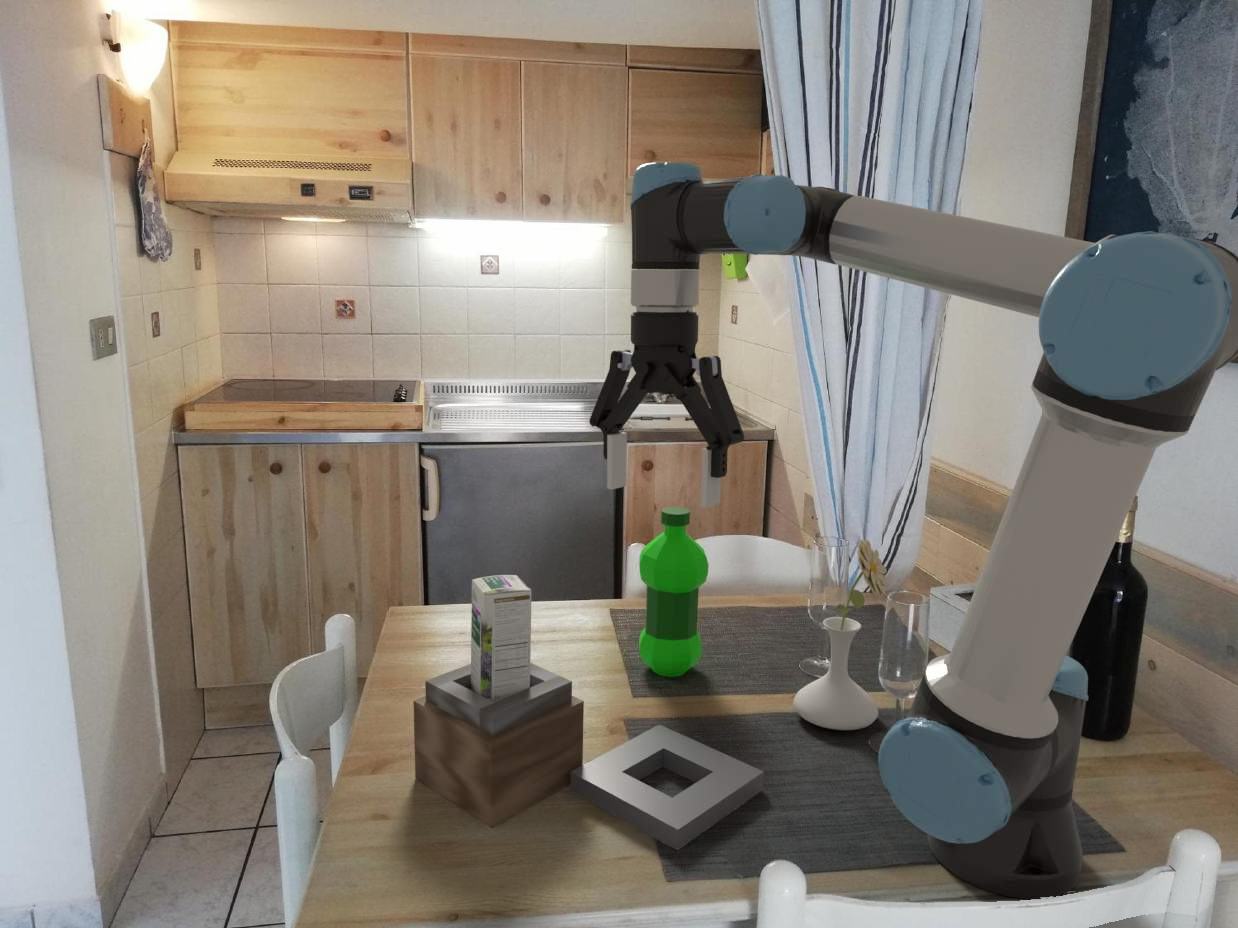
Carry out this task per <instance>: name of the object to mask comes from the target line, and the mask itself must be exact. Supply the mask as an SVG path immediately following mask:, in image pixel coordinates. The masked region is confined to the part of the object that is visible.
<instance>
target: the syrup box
mask: <svg viewBox="0 0 1238 928" xmlns="http://www.w3.org/2000/svg"><path fill="white" fill-rule="evenodd" d="M470 626H471V629H470V632H471V634H470V640H471V641H470V664H471V691H473V692H475V693H477V694H479V695H481V696H483V697H485V698H487V699H489V700H491V701H493V702H497V701H500V700H502V699H505V698H507V697H509V696H512V695H514V694H516V693H519V692H521V691H523V690H526V689H528V688H530V663H531V653H532V652H531V650H532V649H531V643H532V642H531V640H532V639H531V638H532V636H531V634H532V589H531V588H530V587H528V586H527V584H526V583H525V582H524V581H523V580H522V579H521V578H520V577H519V576H518V575H516V574H499V575H498V574H497V575H490V576H489V575H488V576H482V577H478V578H477V577H476V578H473V579H471V625H470Z"/></svg>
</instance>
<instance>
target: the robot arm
mask: <svg viewBox="0 0 1238 928" xmlns="http://www.w3.org/2000/svg"><path fill="white" fill-rule="evenodd" d="M632 177H633V179H632V191H631V202H630V203H629V205H630V206H629V207H630V211H631V212H630V213H631V214H630V216H631V217H630V218H631V270H630V274H631V275H630V305H631V306H632V307H635V309H636V311H633V312H632V314H630V342H631V344H632V345H633V352H632V351H631V350H630V349H620V350H619V349H618V350H613V351H612V352H611V353H610V359H609V360H610V361H609V369H608V372H607V374H606V377H605V379H604V383H603V385H602V386H601V390H600V393H599V395H598V397H597V400H596V402H595V405H594V407H593V409H592V413H591V414H590V418H589V419H588V421H589V425H590V426H591V427H593V428H594V427H596V428H598V429H600V431H601V433H602V434H603V451H602V453H603V458H604V460H606V461H607V463H606V465H607V466H606V467H607V468H606V469H607V470H606V471H607V472H606V475H607V477H606V478H607V479H606V481H607V482H606V484H607V485H606V489H608V490H610V491H611V490H615V489H620V488H624V487H627V474H628V473H627V471H628V469H627V468H628V467H627V466H628V465H627V464H628V463H627V461H628V453H627V452H628V444H627V443H628V441H627V439H628V432H625V431H624V430H625V428H624V426H625V424H626V423H627V422H628V421H629V419H630V418H631V416H632V415H633V413H634V412H635V411H636V410H637V408H638V407H639V405H640V404H641V403H642V401H643V400H644V399H645V397H646V396H647V395H648V394H655V393H660V394H662V395H665V396H667V395H668V396H670V395H674V397H675V398H676V399H677V400H679V401H680V402H681V403H682V405H683V407H684V408H685V410H686V411H687V413H688V414H689V416H690V418H691V419H692V421H693V423H694V425H695V426H696V427H697V429H698V430H699V432H700V434H701V435H702V437H703V439H704V440H705V442H706V444H707V446H706V447H704V448H702V449H701V487H700V488H701V489H700V493H701V495H700V507H701V508H705V509H707V508H710V507H714V506H717V505H720V504H721V496H722V495H721V493H722V492H721V491H722V477H726V475H727V473H728V451H729V450H728V449H729V448H730V446H733V445H735V444H739V443H742V442H744V440H745V434H744V431H743V429H742V427H741V423H740V420H739V419H738V416H737V415H738V414H737V412H736V410H735V407H734V405H733V402H732V400H731V397H730V394H729V392H728V389H727V386H726V384H725V381H724V378H723V375H722V360H721V357H720V356H718V355H709V356H701V357H700V358H698V356H697V354H696V346H697V344H698V341H699V314H698V313H697V312H696V311H693V309H694V307H695V308H696V307H698V305H699V298H700V295H699V294H700V289H699V288H700V263H701V262H700V261H701V255H707V254H708V255H709V254H710V255H712V254H713V255H714V254H716V255H718V254H719V255H725V254H726V255H754V256H756V255H759V256H760V255H771V256H775V255H776V256H793V257H795V256H796V257H802V258H808V259H811V260H817V261H820V262H824V263H826V264H832V265H836V266H837V265H838V266H842V267H846V268H850V269H853V270H857V271H860V272H865V273H868V274H873V275H876V276H879V277H884V278H888V279H891V280H895V281H898V282H902V283H906V284H910V285H914V286H918V287H922V288H926V289H929V290H933V291H937V292H940V293H944V294H947V295H948V294H949V295H953V296H956V297H960V298H963V299H967V300H971V301H973V302H979V303H983V304H987V305H991V306H994V307H998V308H1002V309H1006V310H1010V311H1012V312H1016V313H1021V314H1024V315H1028V316H1032V317H1036V318H1038V336H1039V341H1040V345H1041V348H1042V351H1043V353H1042V356H1041V358H1040V361H1039V364H1038V366H1037V370H1036V373H1035V375H1034V377H1033V379H1032V380H1033V381H1032V383H1031V385H1030V386H1031V387H1030V388H1031V392H1033V394H1034V396H1035V398H1036V400H1037V402H1038V404H1039V405H1040V407H1041V412H1042V413H1041V415H1040V419H1039V421H1038V424H1037V427H1036V430H1035V432H1034V434H1033V437H1032V440H1031V442H1030V445H1029V448H1028V449H1027V453H1026V455H1025V458H1024V460H1023V463H1022V465H1021V469H1020V471H1019V473H1018V476H1017V479H1016V480H1015V484H1014V487H1013V488H1012V491H1011V494H1010V497H1009V499H1008V502H1007V504H1006V506H1005V507H1006V508H1005V510H1004V513H1003V514H1002V518H1001V520H1000V523H999V525H998V529H997V530H996V531H997V532H996V534H995V537H994V539H993V540H992V543H991V547H990V550H989V552H988V554H987V557H986V560H985V562H984V564H983V567H982V570H981V573H980V575H979V578H978V580H977V583H976V585H975V589H974V591H973V594H972V597H971V599H970V601H969V605H968V606H967V610H966V613H965V615H964V617H963V619H962V622H961V625H960V627H959V630H958V633H957V635H956V637H955V640H954V644H953V646H952V648H951V651H950V653H947V654H944V655H940V656H936V657H935V658H932V659H931V660H930V661H929V662H928V664H927V666H926V668H925V670H924V673H923V676H922V678H921V680H920V684H919V685H918V688H917V690H916V693H915V697H914V699H913V701H912V705H911V706H910V710H909V711H908V713H907V714H906V717H905V718H903V719H900V720H898V721H896V722H895V723H894V724H893V725H891V727H890V729H889V730H888V732H887V733H886V734H885V736H884V738H883V739H882V741H881V743H880V747H879V751H878V769H879V770H878V771H879V774H880V778H881V782H882V784H883V786H884V787H885V788H886V789H887V791H888V792H889V794H890V799H891V801H892V803H893V804H894V806H896V808H897V809H898V810H899V811H900V812H901V814H902V815H903V816H904V817H905V818H906V819H907V820H908V821H909V822H910V823H911V824H913V825H914V826H915V827H917V828H918V829H920V830H921V831H923V832H924V833H926V834H927V838H926V839H927V843H928V844H927V845H928V846H929V849H930V850H931V852H932V854H933V856H934V857H935V858H936V859H937V861H939V863H940V864H942V866H944V867H945V869H947V870H949V872H951V873H953V874H954V875H955V876H956V877H958V878H960V879H962V880H963V881H966V882H967V883H968V884H972V885H973V886H976V887H977V888H980V889H983V890H985V891H988V892H991V893H994V894H996V895H997V894H998V895H1001V896H1006V897H1010V898H1015V899H1023V900H1024V899H1025V900H1037V899H1036V898H1040V897H1050V896H1057V897H1059V896H1058V895H1060V896H1063V895H1065V894H1067V893H1069V892H1071V891H1072V890H1073V889H1074V888H1075V887H1076V886H1077V884H1078V883H1079V881H1080V878H1081V873H1082V866H1083V859H1084V858H1083V856H1084V855H1083V849H1082V844H1081V839H1080V835H1079V831H1078V827H1077V826H1078V825H1077V821H1076V818H1075V817H1076V816H1075V813H1074V808H1073V803H1072V798H1073V792H1074V791H1073V790H1074V786H1075V778H1076V771H1077V766H1078V758H1079V757H1078V756H1079V753H1080V752H1079V751H1080V744H1081V739H1082V731H1083V725H1084V719H1085V711H1086V705H1087V702H1088V701H1089V695H1088V686H1089V684H1088V683H1089V682H1088V681H1089V676H1088V673H1087V671H1086V669H1085V667H1084V666H1083V665H1082V664H1081V663H1080V662H1079V661H1078V660H1075V659H1074V658H1072V657H1070V656H1069V655H1067V654H1068V651H1069V649H1070V647H1071V645H1072V643H1073V641H1074V638H1075V637H1076V634H1077V631H1078V629H1079V627H1080V625H1081V622H1082V620H1083V618H1084V615H1085V613H1086V611H1087V608H1088V606H1089V604H1090V601H1091V600H1092V599H1091V598H1092V597H1093V594H1094V592H1095V589H1096V587H1097V585H1098V583H1099V581H1100V579H1101V576H1102V574H1103V572H1104V569H1105V567H1106V565H1107V563H1108V560H1109V558H1110V555H1111V553H1112V551H1113V549H1114V546H1115V544H1116V542H1117V539H1118V537H1119V534H1120V533H1121V529H1123V526H1124V523H1125V521H1126V518H1127V516H1128V514H1129V512H1130V510H1131V508H1132V505H1133V503H1134V500H1135V499H1136V496H1137V493H1138V491H1139V489H1140V487H1141V484H1142V482H1143V479H1144V478H1145V476H1146V473H1147V471H1148V469H1149V466H1150V465H1151V464H1150V463H1151V462H1152V459H1153V457H1154V454H1155V453H1156V450H1157V448H1159V447H1160V446H1161V445H1162V444H1165V443H1168V442H1171V441H1173V440H1176V439H1179V438H1181V437H1183V436H1185V435H1187V434H1188V433H1189V430H1190V428H1191V426H1192V424H1193V422H1194V419H1195V417H1196V415H1197V413H1198V411H1199V409H1200V407H1201V404H1202V402H1203V399H1204V397H1205V396H1206V393H1207V391H1208V388H1209V386H1210V384H1211V382H1212V379H1213V377H1214V375H1215V373H1216V371H1218V370H1219V369H1222V368H1223V367H1225V366H1226V365H1227V364H1228V363H1230V362H1232V361H1233V360H1234V359H1235V358H1237V357H1238V254H1237V253H1235V252H1233V251H1232V250H1230V249H1228V248H1227V247H1225V246H1224V245H1221V244H1218V243H1217V242H1213V241H1209V240H1206V239H1205V240H1204V239H1199V238H1193V237H1192V238H1191V237H1184V236H1180V235H1177V234H1176V233H1166V232H1155V231H1152V230H1149V231H1139V232H1137V231H1136V232H1133V233H1129V234H1122V235H1117V234H1109V235H1107V236H1105V237H1103V238H1102V239H1100V240H1098V241H1097V242H1092V241H1086V240H1081V239H1077V238H1076V239H1075V238H1071V237H1067V236H1061V235H1057V234H1051V233H1046V232H1041V231H1035V230H1033V229H1032V230H1031V229H1026V228H1022V227H1017V226H1013V225H1011V226H1010V225H1008V224H1007V225H1006V224H1002V223H997V222H993V221H992V222H991V221H987V220H983V219H976V218H972V217H968V216H962V215H957V214H951V213H946V212H943V211H938V210H937V211H936V210H932V209H926V208H923V207H917V206H911V205H908V204H903V203H898V202H892V201H889V200H888V201H887V200H881V199H877V198H873V197H868V196H862V195H854V194H850V193H847V192H846V193H845V192H843V191H840V190H838V189H835V188H831V187H824V186H810V185H809V186H808V185H800V184H795V182H794V180H792V178H791V177H788V176H785V175H781V174H780V175H777V174H776V175H770V174H769V175H767V174H766V175H764V174H760V173H759V174H752V175H750V176H744V177H743V176H742V177H733V178H732V177H731V178H724V179H722V178H721V179H714V180H703V178H702V169H701V167H699V166H698V165H697V164H694V163H689V162H683V161H682V162H680V161H679V162H677V161H668V162H667V161H666V162H650V163H649V162H648V163H644V164H641V165H640V166H638V167H637V168H636V169H635V170H634V173H633V176H632ZM632 368H633V370H634V372H635V374H634V375H633V377H632V378H631V379H630V381H629V382H628V384H627V385H626V383H627V380H628V378H629V375H630V372H631V369H632ZM694 374H696V375H698V377H700V378H699V379H700V382H701V386H702V389H703V392H704V395H705V396H706V399H705V397H704V396H703V394H702V389H701V386H700V385H699V383H698V382H697V380H696V378H695V377H694ZM625 385H626V388H627V389H626V390H625V391H624V393H623V390H624V388H625ZM622 393H623V394H622ZM621 395H622V396H621ZM706 400H707V401H706ZM620 431H621V432H620ZM1062 894H1063V895H1062Z"/></svg>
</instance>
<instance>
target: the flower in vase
mask: <svg viewBox="0 0 1238 928" xmlns="http://www.w3.org/2000/svg"><path fill="white" fill-rule="evenodd" d="M857 548H858V549H857V556H858V557H857V559H858V560H857V561H858V563H859V566H860V570H861V571H860V572H859V574H858V576H857V578H856V579H855V580H854V582H853V584H852V586H851V588H850V590H849V593H848V598H847V601H846V604H845V605H842V604H841V603H839V604H838V605H837V606H836V607H835V608H834V609H832V611H834V612H838V613H843V614H842V617H841V616H831V617H826V618H825V619H824V620H823V621H822V624H823V626H824V628H825V629H826V630H827V632H828V637H829V640H830V642H829V643H830V663H829V668H828V670H827V672H826V673H825V674H824V675H823V676H821V677H820V678H818V679H816V680H813V681H812V682H810V683H807V684H806V685H805V686H803V687H802V688H801V689H799V690H798V692H796V694H795V696H794V698H793V701H792V702H793V708H794V709H795V710H796V712H797V714H798V715H799V716H800V717H801V718H802V719H804V720H805V721H807V722H809V723H811V724H814V725H816V726H818V727H821V728H826V729H830V730H837V731H855V730H860V729H864V728H867V727H869V726H870V725H872V724H873V723H874V722H875V721H876V719H878V717H879V708H878V706H877V703H876V702H875V700H874V699H873V698H872V697H871V696H870V694H869V693H867V692H866V691H865V689H864V688H863V687H861V686H860V685H858V684H857V683H856V682H855V681H854V680H853V679H852V678H851V677H850V676H849V671H848V659H849V652H850V647H851V645H852V642H853V639H854V637H855V636H856V634H857V633H858V632H859V631H860V630H861V629H862V623H860V622H858V621H857V620H854V619H852V618H849V617H847V613H849V612H851V611H853V610H854V609H853V608H849V604H850V602H851V603H852V604H853V606H854V607H855V608H856V609H858V610H859V609H861V608H863V606H864V605H865V602H866V599H865V596H864V594H863V592H861V591H860V590H858V589H855V587H856V586H857V585H858V583H859V581H860V579H861V577H862V578H863V579H864V582H865V583H866V585H868V587H869V588H870V590H871V592H872V593H873V594H874V595H877V596H878V597H879V596H882V597H883V596H886V595H887V594H886V590H885V589H884V588H887V589H889V588H890V584H889V583H888V578H887V577H886V575H885V574H886V573H887V568H886V567H885V565H883V564H882V559H881V558H880V557H879V556H880V553H879V551H878V550H877V549H873V548H872V545H871V541H869V540H868V539H865V540H863V539H860V541H859V543H858V545H857Z"/></svg>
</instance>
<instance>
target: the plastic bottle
mask: <svg viewBox="0 0 1238 928" xmlns="http://www.w3.org/2000/svg"><path fill="white" fill-rule="evenodd" d="M690 512H691V511H690V509H687V508H685V507H678V506H667V507H664V508H661V515H660V522H661V524H663V527H664V529H663V532H662V533H660V534H659V535H658V536H656V537H654V538H653V539H652V540H651V541H650V542H648V543H647V544H646V545H645V546H643V548H642V549H641V551H640V554H639V559H638V560H639V562H638V565H639V574H640V580H641V581H642V582H643V583H644V585H646V599H645V600H646V601H645V603H646V605H645V625H644V628H643V629H642V631H641V632H640V635H639V637H638V640H639V641H638V652H639V653H638V654H639V656H640V658H641V661H642V662H643V663H644V664H645V665H646V666H647V667H648V668H649V669H651V670H652V672H654V673H655V674H657V675H658V676H662V677H669V678H673V677H681V676H683V674H685V673H687V671H689V670H690V669H691V668H693V667H694V666H695V665H697V663H699V661H700V659H701V657H702V655H703V645H702V640H701V637H700V633H699V632H698V613H699V612H698V609H699V588H700V587H701V586H703V585H704V584H705V583H706V581H707V579H708V575H709V562H708V558H707V555H706V551H705V550H704V548H703V547H702V546H701V545H700V544H699V543H698V542H697V541H695V539H693V538H692V537H691V535H689V534H687V533H686V526H688V525H690V516H691V515H690V514H691V513H690Z"/></svg>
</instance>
